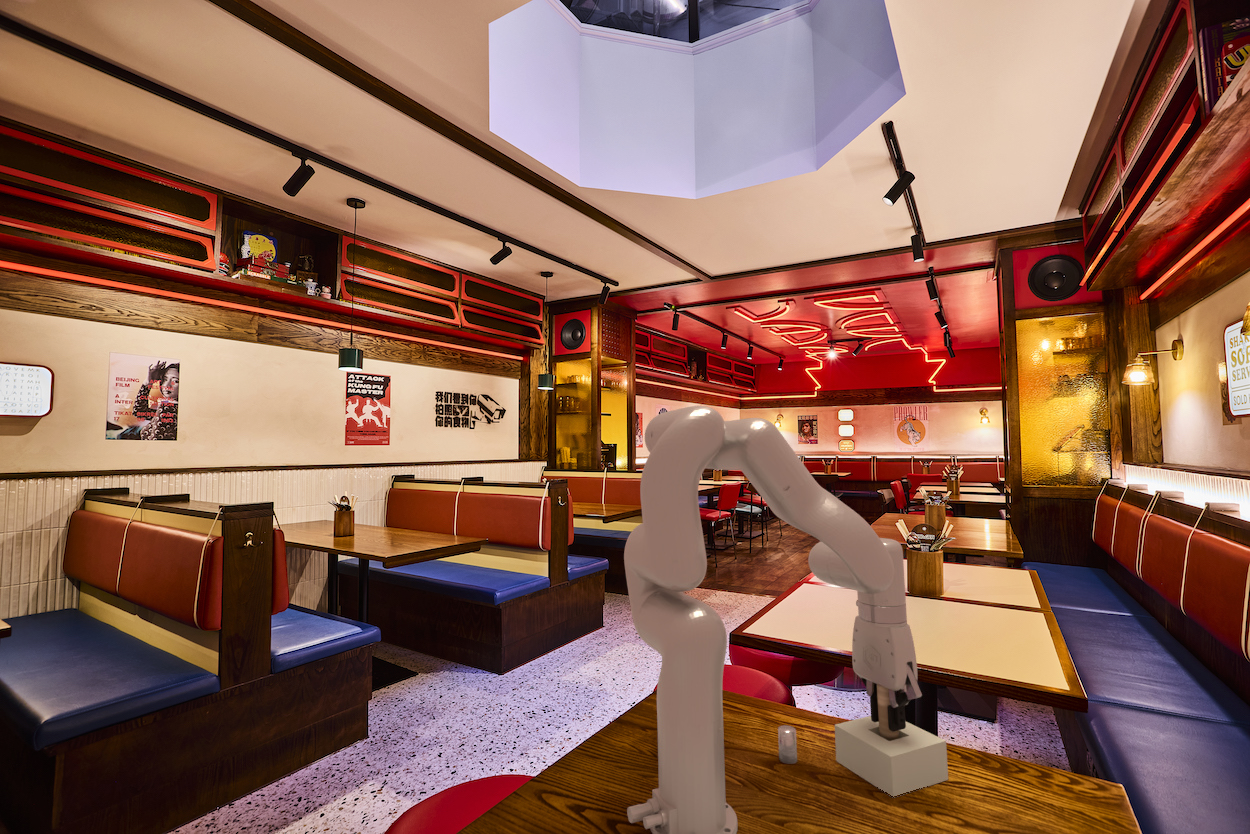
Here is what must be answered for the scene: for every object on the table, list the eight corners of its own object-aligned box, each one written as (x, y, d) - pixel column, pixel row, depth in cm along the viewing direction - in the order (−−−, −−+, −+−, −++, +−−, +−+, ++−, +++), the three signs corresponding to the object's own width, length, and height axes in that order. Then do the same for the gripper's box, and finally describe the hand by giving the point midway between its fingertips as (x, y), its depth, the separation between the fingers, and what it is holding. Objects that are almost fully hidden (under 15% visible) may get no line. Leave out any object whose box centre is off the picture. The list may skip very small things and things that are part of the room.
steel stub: (786, 765, 98) (785, 734, 98) (775, 757, 100) (774, 727, 101) (800, 761, 99) (799, 731, 99) (789, 753, 102) (788, 724, 102)
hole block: (893, 797, 88) (891, 756, 88) (836, 760, 99) (834, 724, 99) (948, 779, 92) (946, 740, 93) (888, 746, 103) (886, 711, 104)
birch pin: (890, 746, 94) (885, 670, 95) (875, 738, 97) (871, 665, 98) (903, 742, 95) (899, 667, 96) (888, 734, 98) (884, 662, 99)
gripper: (830, 604, 104) (835, 710, 102) (906, 627, 89) (913, 751, 87) (861, 599, 107) (867, 702, 105) (940, 621, 92) (948, 741, 90)
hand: (888, 723), depth 96 cm, fingers closed on birch pin, 3 cm apart
